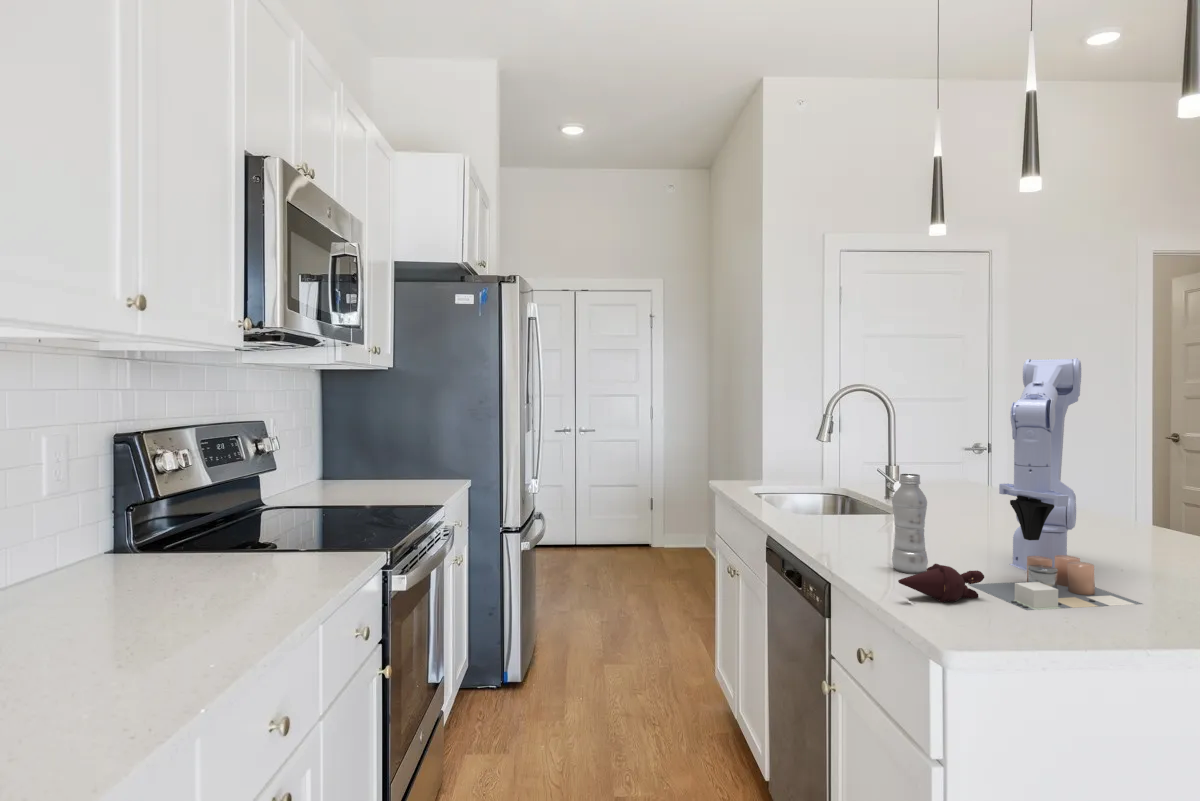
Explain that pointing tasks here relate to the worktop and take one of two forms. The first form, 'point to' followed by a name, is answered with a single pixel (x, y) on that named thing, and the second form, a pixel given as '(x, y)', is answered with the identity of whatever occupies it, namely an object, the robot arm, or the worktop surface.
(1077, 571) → the tan rounded cylinder
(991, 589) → the board
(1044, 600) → the white block
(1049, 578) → the tin
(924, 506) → the plastic bottle
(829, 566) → the worktop surface
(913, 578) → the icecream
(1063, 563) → the tan rounded block
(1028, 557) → the tan rounded block
